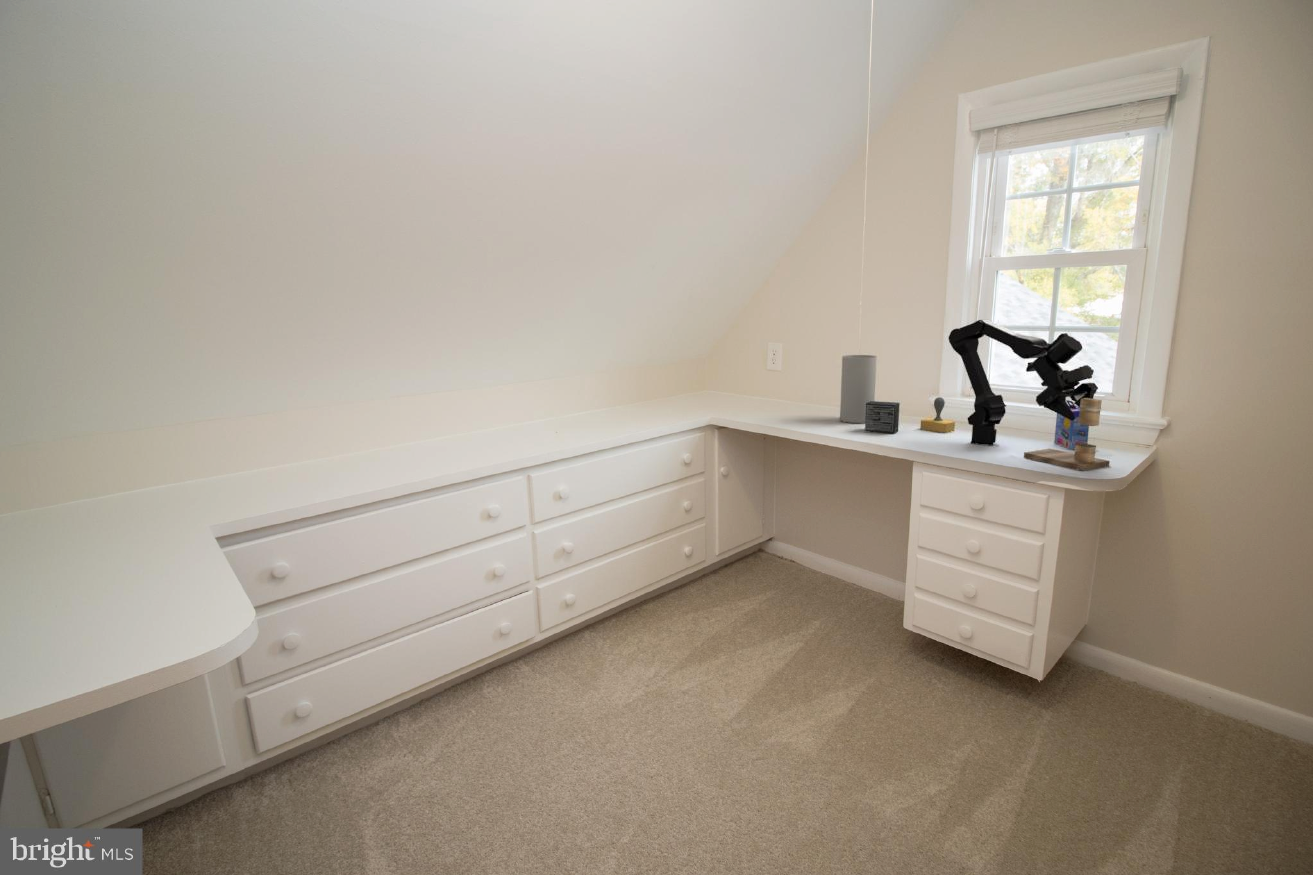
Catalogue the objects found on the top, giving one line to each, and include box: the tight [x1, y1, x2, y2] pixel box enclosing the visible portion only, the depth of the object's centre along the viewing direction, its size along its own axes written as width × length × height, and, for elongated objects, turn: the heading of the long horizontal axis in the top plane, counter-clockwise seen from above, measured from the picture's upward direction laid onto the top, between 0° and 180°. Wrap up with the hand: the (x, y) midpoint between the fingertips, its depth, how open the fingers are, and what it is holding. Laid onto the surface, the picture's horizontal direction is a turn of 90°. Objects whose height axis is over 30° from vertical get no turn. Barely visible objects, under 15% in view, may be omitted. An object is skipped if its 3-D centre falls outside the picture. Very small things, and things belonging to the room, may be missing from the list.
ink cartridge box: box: [1054, 399, 1090, 450], centre depth 201 cm, size 10×6×14 cm, turn 174°
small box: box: [864, 401, 900, 435], centre depth 230 cm, size 11×6×10 cm, turn 58°
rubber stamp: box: [919, 396, 956, 434], centre depth 230 cm, size 10×6×12 cm, turn 34°
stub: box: [1078, 398, 1103, 427], centre depth 177 cm, size 4×2×7 cm, turn 24°
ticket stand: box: [1023, 443, 1111, 471], centre depth 184 cm, size 18×11×6 cm, turn 24°
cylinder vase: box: [839, 354, 878, 425], centre depth 249 cm, size 12×12×25 cm
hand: (1085, 418), depth 178 cm, fingers open, 9 cm apart
